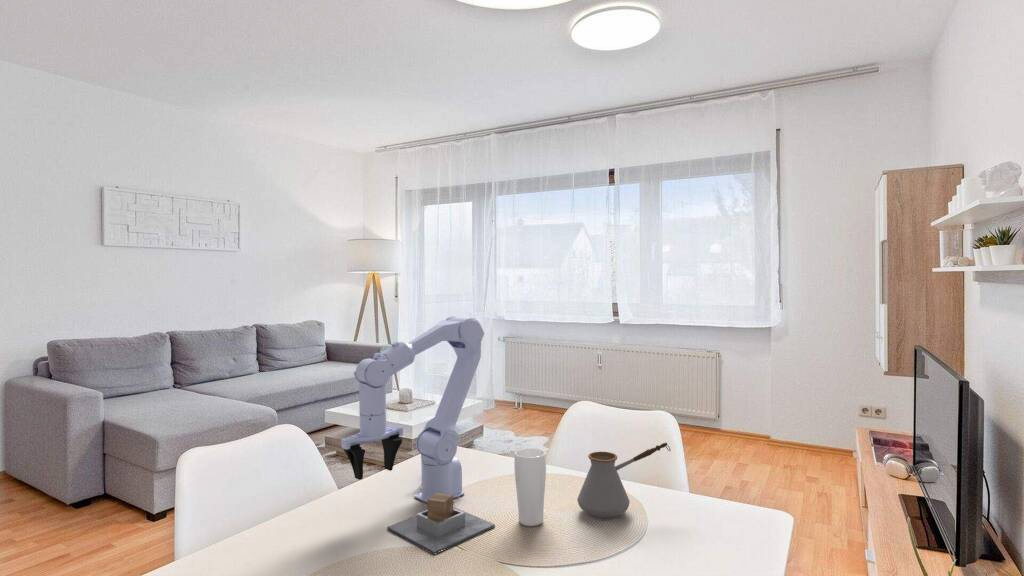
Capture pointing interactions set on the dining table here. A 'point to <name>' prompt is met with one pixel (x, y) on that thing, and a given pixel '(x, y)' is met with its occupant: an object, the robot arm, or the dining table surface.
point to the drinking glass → (530, 485)
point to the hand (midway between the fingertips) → (374, 473)
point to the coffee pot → (607, 485)
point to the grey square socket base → (440, 530)
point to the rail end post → (440, 506)
